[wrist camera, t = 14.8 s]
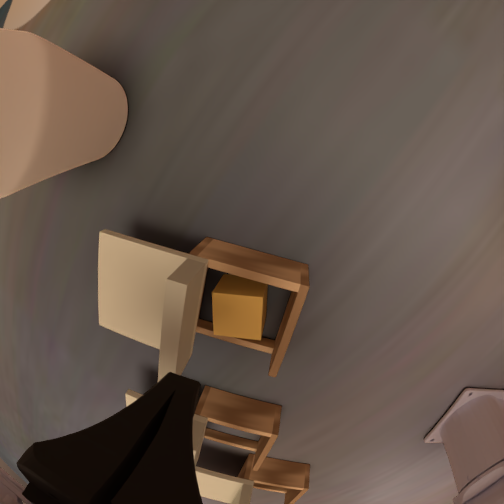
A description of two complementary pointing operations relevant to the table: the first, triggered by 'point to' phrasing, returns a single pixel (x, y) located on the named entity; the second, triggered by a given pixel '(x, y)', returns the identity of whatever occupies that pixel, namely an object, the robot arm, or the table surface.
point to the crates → (258, 412)
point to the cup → (52, 111)
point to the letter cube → (239, 307)
